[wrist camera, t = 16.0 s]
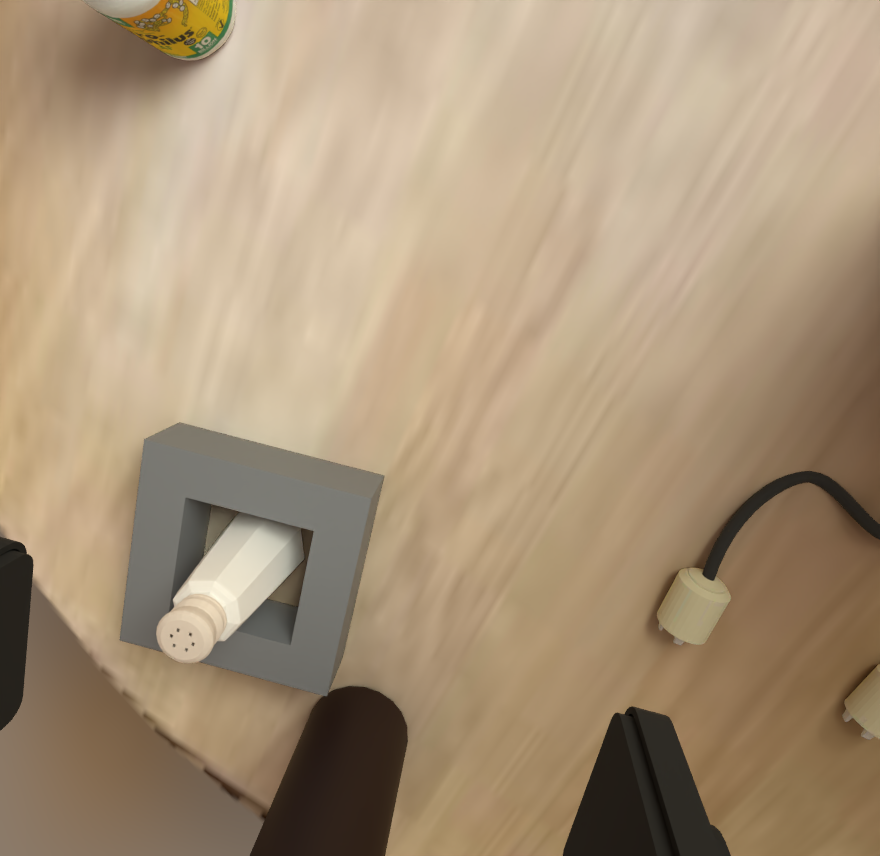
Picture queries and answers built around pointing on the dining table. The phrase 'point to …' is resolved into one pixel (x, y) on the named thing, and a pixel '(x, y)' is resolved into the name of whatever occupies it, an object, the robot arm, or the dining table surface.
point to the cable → (706, 597)
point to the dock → (264, 495)
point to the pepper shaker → (229, 585)
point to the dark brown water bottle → (339, 780)
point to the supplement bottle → (174, 23)
